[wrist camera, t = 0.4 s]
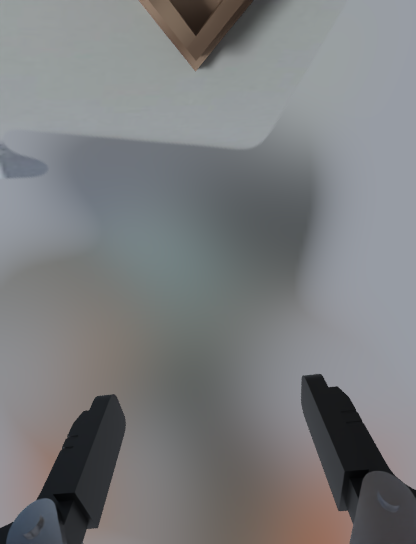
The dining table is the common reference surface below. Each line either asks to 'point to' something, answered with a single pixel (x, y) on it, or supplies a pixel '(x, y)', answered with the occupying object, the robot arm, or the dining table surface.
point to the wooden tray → (195, 23)
